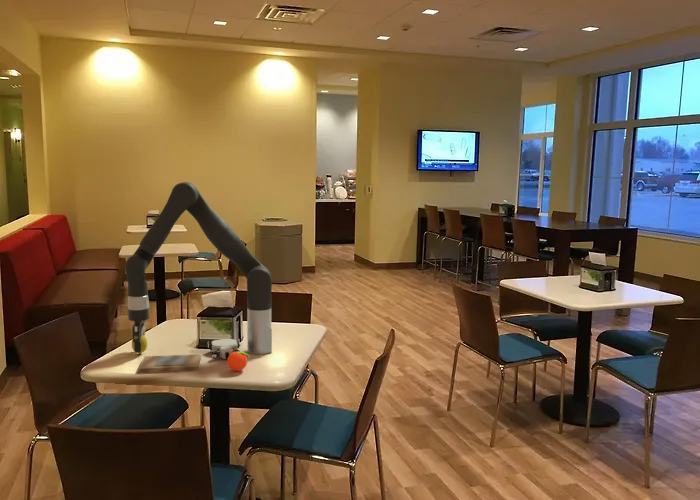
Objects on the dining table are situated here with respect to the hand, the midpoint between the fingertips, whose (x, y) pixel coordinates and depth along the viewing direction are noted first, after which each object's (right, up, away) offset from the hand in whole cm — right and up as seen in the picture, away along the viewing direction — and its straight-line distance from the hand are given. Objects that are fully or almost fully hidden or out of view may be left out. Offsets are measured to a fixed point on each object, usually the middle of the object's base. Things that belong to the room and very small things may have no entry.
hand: (139, 348), depth 226 cm
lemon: (0, -2, 0) cm, 2 cm away
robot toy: (+32, -3, +1) cm, 32 cm away
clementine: (+41, -5, -16) cm, 44 cm away
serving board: (+16, -4, -12) cm, 20 cm away
